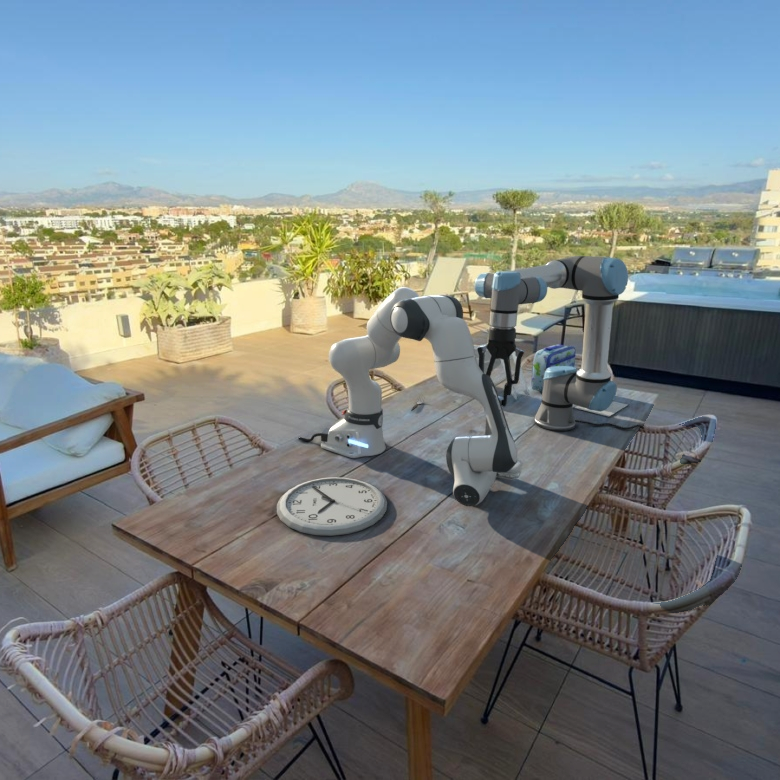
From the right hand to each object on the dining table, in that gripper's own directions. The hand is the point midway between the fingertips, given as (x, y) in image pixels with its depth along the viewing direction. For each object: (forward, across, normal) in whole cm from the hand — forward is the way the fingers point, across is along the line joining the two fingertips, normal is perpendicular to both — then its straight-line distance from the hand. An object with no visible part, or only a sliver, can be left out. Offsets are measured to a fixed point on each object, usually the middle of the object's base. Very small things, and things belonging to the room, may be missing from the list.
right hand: (496, 403), depth 156 cm
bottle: (+23, 0, 0) cm, 23 cm away
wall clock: (+23, +37, +36) cm, 57 cm away
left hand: (+17, 0, -1) cm, 17 cm away
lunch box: (+23, -11, -101) cm, 104 cm away
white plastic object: (+23, +20, -82) cm, 87 cm away
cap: (-2, 0, 0) cm, 2 cm away
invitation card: (+23, -34, -82) cm, 92 cm away
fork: (+23, +40, -51) cm, 69 cm away
